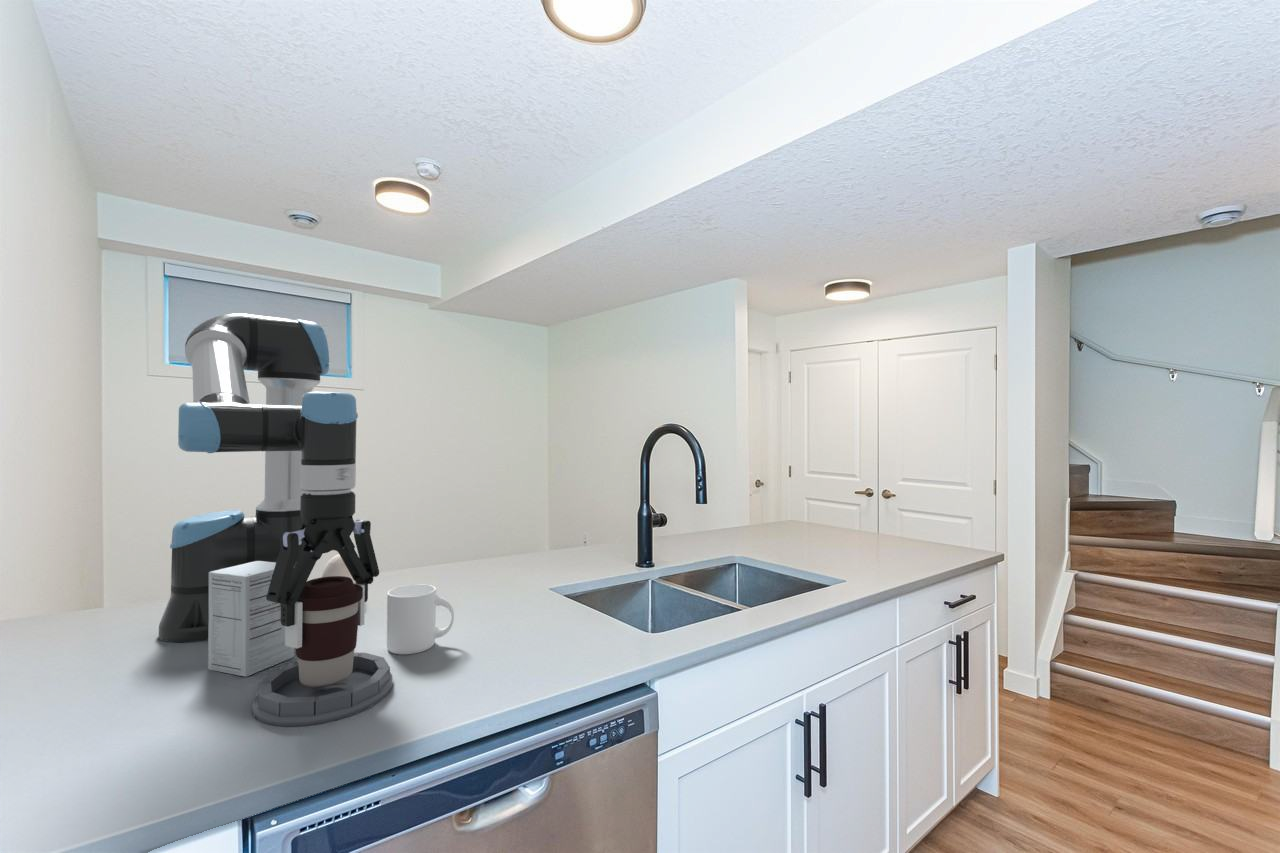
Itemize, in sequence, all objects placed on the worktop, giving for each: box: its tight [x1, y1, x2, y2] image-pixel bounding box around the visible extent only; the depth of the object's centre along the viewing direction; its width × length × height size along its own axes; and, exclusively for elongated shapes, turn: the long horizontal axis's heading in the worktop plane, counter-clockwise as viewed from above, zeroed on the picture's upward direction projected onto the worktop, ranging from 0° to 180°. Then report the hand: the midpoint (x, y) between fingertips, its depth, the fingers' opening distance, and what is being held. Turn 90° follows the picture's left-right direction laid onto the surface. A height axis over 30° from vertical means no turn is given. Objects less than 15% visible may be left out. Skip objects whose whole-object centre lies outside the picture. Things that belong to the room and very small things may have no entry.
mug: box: [386, 583, 455, 656], centre depth 109 cm, size 9×12×11 cm
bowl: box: [251, 652, 393, 728], centre depth 89 cm, size 19×19×3 cm
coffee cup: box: [295, 576, 363, 687], centre depth 89 cm, size 10×10×15 cm
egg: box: [321, 553, 356, 583], centre depth 134 cm, size 8×8×11 cm
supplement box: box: [207, 561, 295, 678], centre depth 100 cm, size 10×9×17 cm
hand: (326, 634), depth 89 cm, fingers closed on coffee cup, 10 cm apart
